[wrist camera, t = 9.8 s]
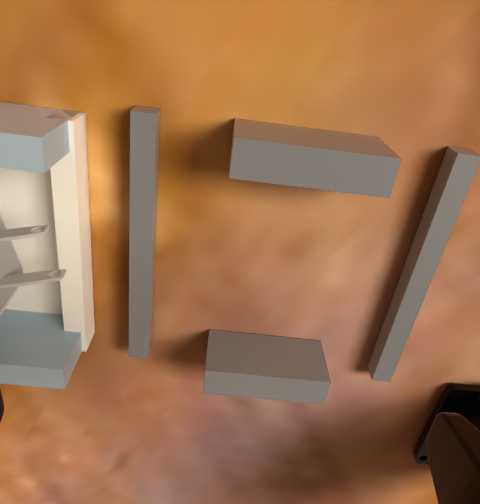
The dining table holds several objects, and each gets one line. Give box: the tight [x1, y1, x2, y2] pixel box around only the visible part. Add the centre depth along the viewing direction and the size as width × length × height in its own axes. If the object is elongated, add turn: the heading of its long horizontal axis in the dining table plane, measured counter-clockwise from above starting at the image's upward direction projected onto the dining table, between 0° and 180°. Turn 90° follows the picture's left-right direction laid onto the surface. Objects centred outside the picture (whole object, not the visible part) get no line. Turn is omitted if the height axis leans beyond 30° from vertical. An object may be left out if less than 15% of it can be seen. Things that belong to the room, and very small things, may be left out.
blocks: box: [129, 105, 480, 404], centre depth 20 cm, size 12×14×3 cm
